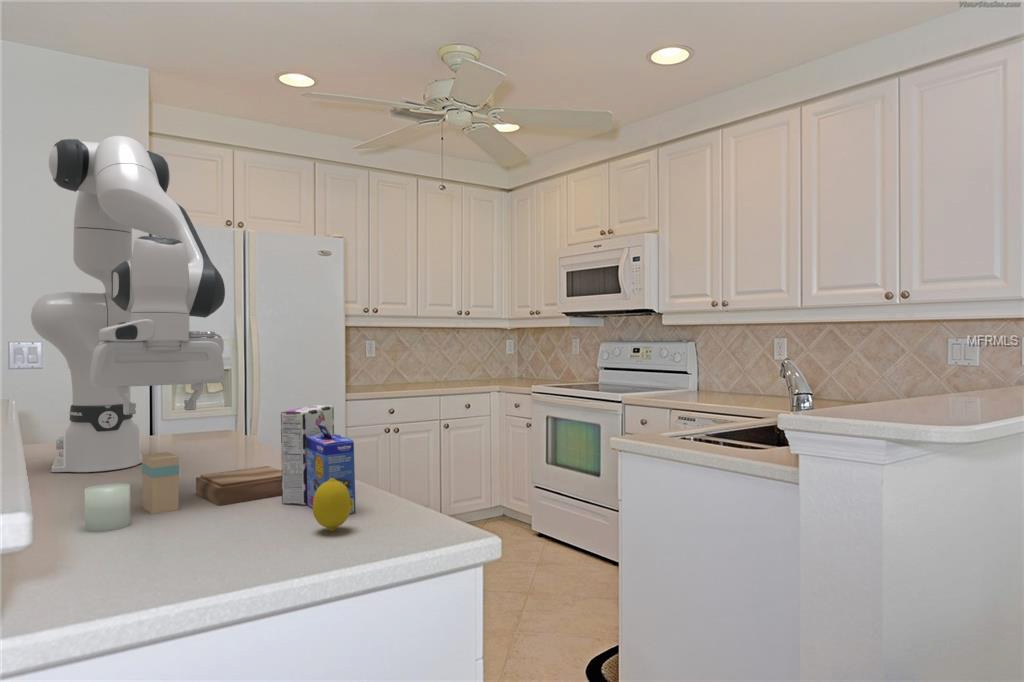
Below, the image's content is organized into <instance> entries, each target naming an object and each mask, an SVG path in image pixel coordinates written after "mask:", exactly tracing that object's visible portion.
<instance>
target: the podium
mask: <svg viewBox="0 0 1024 682" xmlns="http://www.w3.org/2000/svg"><path fill="white" fill-rule="evenodd" d="M195 494H196V495H198V496H200V497H201V498H204V499H206V500H207V501H210V502H211V503H213V504H215V505H217V506H226V505H231V504H236V503H237V504H238V503H242V502H243V503H244V502H249V501H255V500H261V499H267V498H273V497H282V469H277V468H275V467H272V466H269V465H267V466H259V467H257V466H256V467H251V468H243V469H237V470H228V471H221V472H213V473H205V474H204V473H203V474H200V476H198V477H195Z"/></svg>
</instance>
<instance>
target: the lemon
mask: <svg viewBox="0 0 1024 682" xmlns="http://www.w3.org/2000/svg"><path fill="white" fill-rule="evenodd" d="M350 509H351V500H350V494H349V491H348V489H347V487H346V486H345V485H344V484H343V483H341V482H339V481H336V480H335V479H334V478H330V479H329V480H328V481H326V482H324V483H323V484H321V485H320V486H319V487H318V489H317V491H316V493H315V495H314V499H313V508H312V513H313V516H314V519H315V521H316V522H317V523H318V524H319V525H320V526H322V527H324V528H326V529H327V530H328V531H329V532H334V531H336V529H337V528H338V527H340V526H341V525H343V524H344V523H345V522H346V521H347V519H348V518H349V516H350V514H351V513H350Z"/></svg>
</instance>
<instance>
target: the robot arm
mask: <svg viewBox="0 0 1024 682" xmlns="http://www.w3.org/2000/svg"><path fill="white" fill-rule="evenodd" d="M48 169H49V173H50V174H51V176H52V179H53V181H54V183H55V184H56V185H57V186H58V187H59V188H62V189H65V190H67V191H71V192H77V191H78V195H77V198H76V203H75V209H74V216H73V218H74V219H73V257H72V258H73V263H74V264H75V266H76V267H77V268H78V269H79V270H80V271H81V272H83V273H84V274H86V275H88V276H90V277H93V278H94V279H96V280H99V282H101V283H102V285H103V287H104V290H105V291H104V292H102V293H99V292H80V291H79V292H75V291H74V292H73V291H65V292H55V293H48V294H43V295H42V296H41V297H39V298H38V299H37V300H36V301H35V303H34V304H33V307H32V309H31V312H30V320H31V324H32V326H33V329H34V331H36V333H37V334H38V335H39V337H40V338H43V339H44V340H46V341H47V342H49V343H50V344H52V345H53V346H54V347H55V348H56V349H57V350H58V351H59V352H60V353H61V354H62V356H63V357H64V358H65V361H66V363H67V365H68V367H69V371H70V377H71V379H70V380H71V387H72V388H71V390H72V404H71V405H70V406H69V407H70V409H69V413H68V414H69V421H70V424H69V426H68V428H67V429H66V430H65V431H64V432H63V436H59V438H58V439H56V441H55V449H56V451H59V452H58V457H55V458H54V461H53V463H52V464H51V465H52V466H51V469H50V472H51V473H67V472H68V473H90V472H93V473H95V472H105V471H114V470H120V469H126V468H130V467H134V466H138V465H140V464H142V444H141V442H142V441H141V440H142V439H141V428H140V426H138V424H137V423H135V422H134V421H133V420H132V418H133V417H134V415H136V412H137V411H136V408H137V404H136V403H134V402H132V401H131V387H149V386H150V387H151V386H152V387H153V386H172V385H173V386H175V385H190V390H191V391H192V390H193V391H192V393H191V396H190V397H189V399H184V401H183V403H184V406H183V408H184V411H196V410H197V400H198V399H199V398H200V396H201V394H202V392H203V391H204V384H219V383H221V382H222V381H223V380H224V378H225V364H224V358H223V352H224V351H225V350H224V348H225V347H224V339H223V337H222V336H221V335H220V334H218V333H216V332H215V331H212V330H211V331H197V330H195V331H193V330H190V317H195V318H204V319H206V318H207V317H210V316H211V315H212V314H214V313H215V312H217V311H218V309H220V308H221V307H222V306H223V304H224V301H225V297H226V287H225V282H224V279H223V276H222V274H221V273H220V272H219V270H218V268H217V267H216V266H215V265H214V263H213V262H212V260H211V258H210V256H209V254H208V253H207V251H206V248H205V246H204V244H203V243H202V241H201V238H200V237H199V234H198V233H197V230H196V228H195V226H194V224H193V222H192V221H191V219H190V216H189V214H188V213H187V211H186V209H185V208H183V206H181V205H180V204H179V203H178V202H175V201H174V200H173V199H172V198H171V197H170V196H169V195H168V194H167V191H168V188H169V186H170V183H171V182H170V181H171V171H170V169H169V163H168V162H167V161H166V159H165V158H164V157H163V156H162V155H160V154H157V153H156V152H153V151H150V150H146V148H145V147H144V146H143V145H142V144H141V142H140V141H138V140H136V139H135V138H132V137H129V136H127V135H126V136H125V135H112V136H109V137H106V138H105V139H103V140H102V141H101V142H96V141H85V140H83V141H82V140H79V139H77V138H73V139H72V138H69V139H68V138H67V139H65V138H63V139H60V140H58V141H57V142H56V143H55V144H54V146H53V148H52V149H51V151H50V154H49V157H48ZM133 230H137V231H140V232H143V233H146V234H149V236H148V235H143V236H142V235H141V236H139V237H136V239H135V240H134V243H132V242H133V239H132V238H133V237H132V236H133V235H132V234H133ZM150 235H151V236H150ZM132 244H133V245H132Z"/></svg>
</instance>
